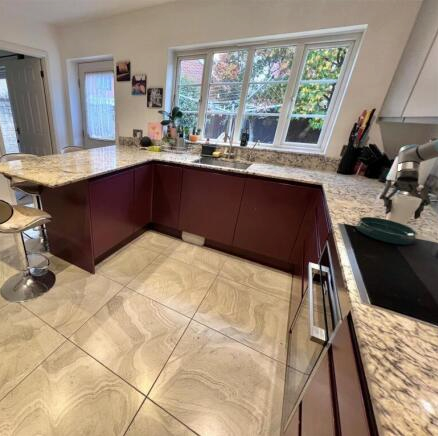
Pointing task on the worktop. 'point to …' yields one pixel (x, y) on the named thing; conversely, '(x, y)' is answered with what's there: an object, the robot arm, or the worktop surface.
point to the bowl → (386, 230)
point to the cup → (403, 208)
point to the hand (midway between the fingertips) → (402, 215)
